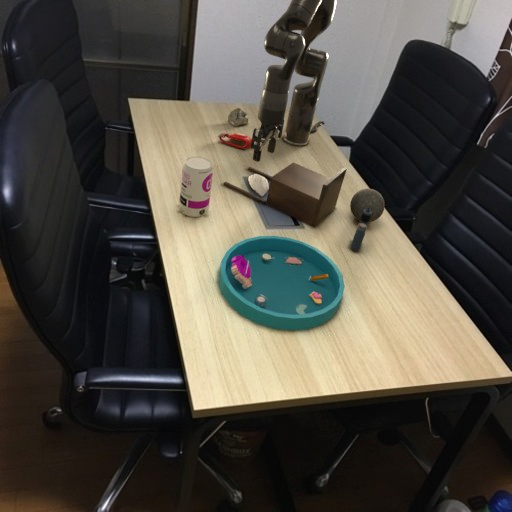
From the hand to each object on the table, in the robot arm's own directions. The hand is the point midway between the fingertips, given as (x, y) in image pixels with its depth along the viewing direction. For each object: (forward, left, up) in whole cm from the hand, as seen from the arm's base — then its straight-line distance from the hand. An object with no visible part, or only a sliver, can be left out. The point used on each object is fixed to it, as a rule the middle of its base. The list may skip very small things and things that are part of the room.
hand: (263, 156), depth 153 cm
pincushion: (0, 0, -11) cm, 11 cm away
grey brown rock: (-34, -30, -11) cm, 47 cm away
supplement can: (+25, -6, -11) cm, 28 cm away
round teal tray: (+36, +29, -11) cm, 47 cm away
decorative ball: (-8, +33, -11) cm, 36 cm away
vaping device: (+7, +37, -11) cm, 39 cm away
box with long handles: (0, +8, -11) cm, 13 cm away
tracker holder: (-20, -22, -11) cm, 32 cm away
